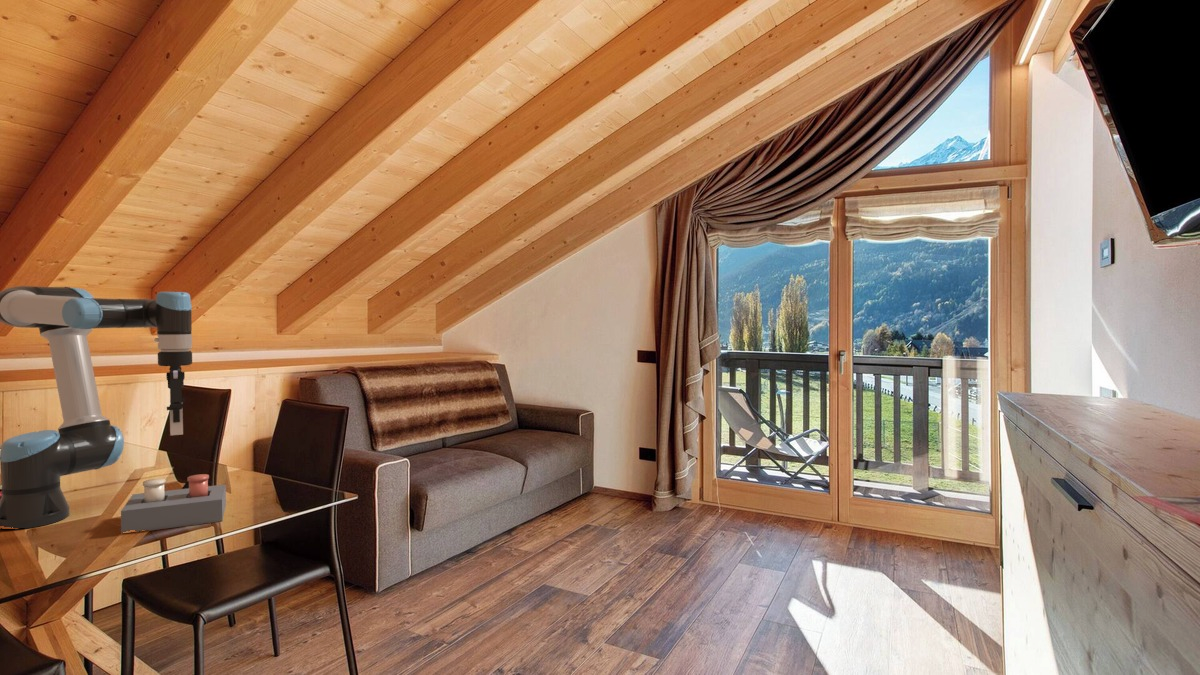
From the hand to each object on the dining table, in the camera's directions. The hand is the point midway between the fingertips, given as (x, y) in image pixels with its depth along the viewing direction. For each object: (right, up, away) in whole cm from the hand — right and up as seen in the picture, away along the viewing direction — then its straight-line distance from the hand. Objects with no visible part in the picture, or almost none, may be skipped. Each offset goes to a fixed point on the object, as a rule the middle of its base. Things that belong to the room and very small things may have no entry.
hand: (176, 430), depth 164 cm
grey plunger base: (-4, -25, +6) cm, 26 cm away
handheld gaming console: (-13, -25, +23) cm, 36 cm away
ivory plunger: (-8, -21, +3) cm, 23 cm away
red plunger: (+1, -21, +8) cm, 22 cm away
